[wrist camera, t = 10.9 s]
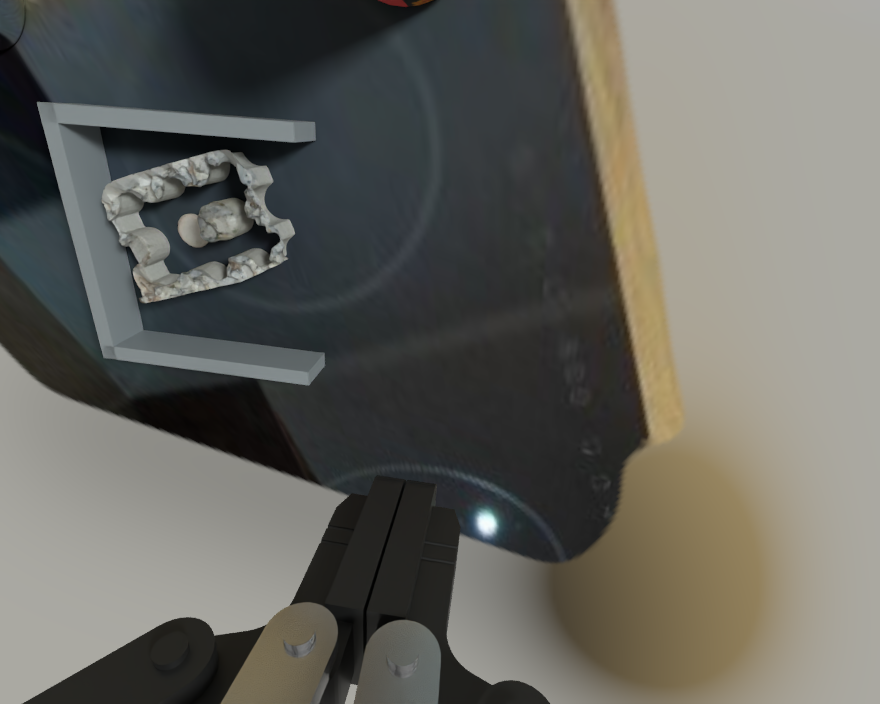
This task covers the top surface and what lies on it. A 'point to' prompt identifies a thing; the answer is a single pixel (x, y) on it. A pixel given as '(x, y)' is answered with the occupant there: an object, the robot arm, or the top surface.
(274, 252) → the egg carton
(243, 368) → the grey u-shaped frame
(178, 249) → the top surface
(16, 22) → the beer glass
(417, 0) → the canned food
